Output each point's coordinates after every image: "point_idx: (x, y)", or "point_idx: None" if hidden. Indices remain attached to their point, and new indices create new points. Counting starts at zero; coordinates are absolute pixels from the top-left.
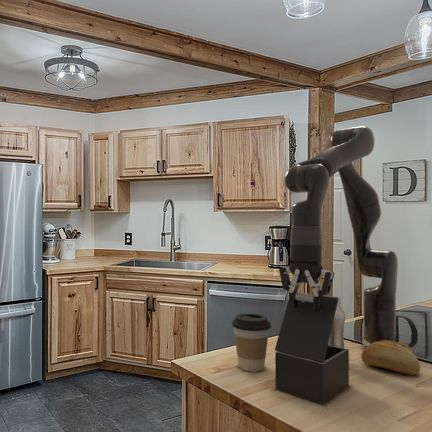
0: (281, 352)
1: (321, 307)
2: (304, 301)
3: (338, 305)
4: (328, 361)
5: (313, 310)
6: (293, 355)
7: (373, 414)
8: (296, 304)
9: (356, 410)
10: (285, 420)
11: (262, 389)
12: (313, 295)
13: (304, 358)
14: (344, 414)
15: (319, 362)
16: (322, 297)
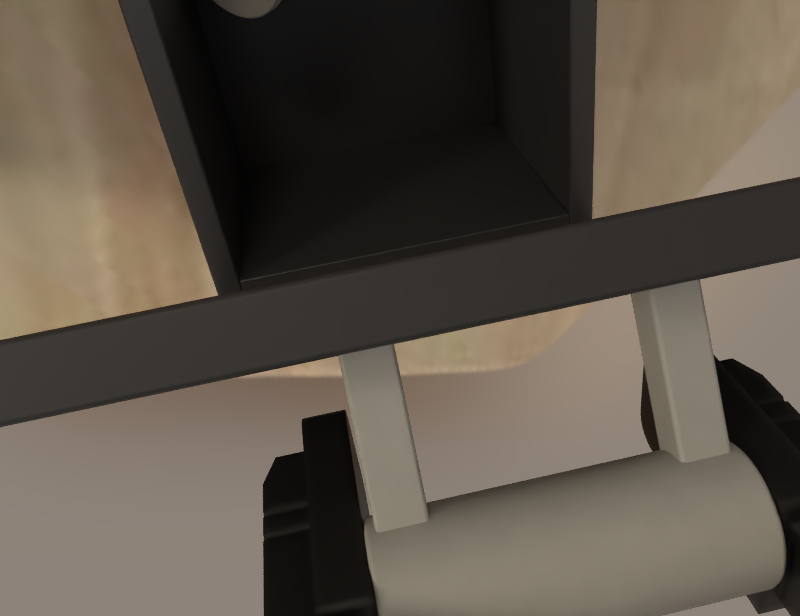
0: (232, 250)
1: (755, 373)
2: (393, 349)
3: None
4: (593, 148)
5: (651, 439)
6: (172, 18)
7: (729, 6)
8: (360, 479)
9: (651, 37)
10: (472, 366)
11: (190, 237)
12: (751, 591)
13: (445, 241)
14: (621, 130)
15: (559, 222)
16: (789, 257)
